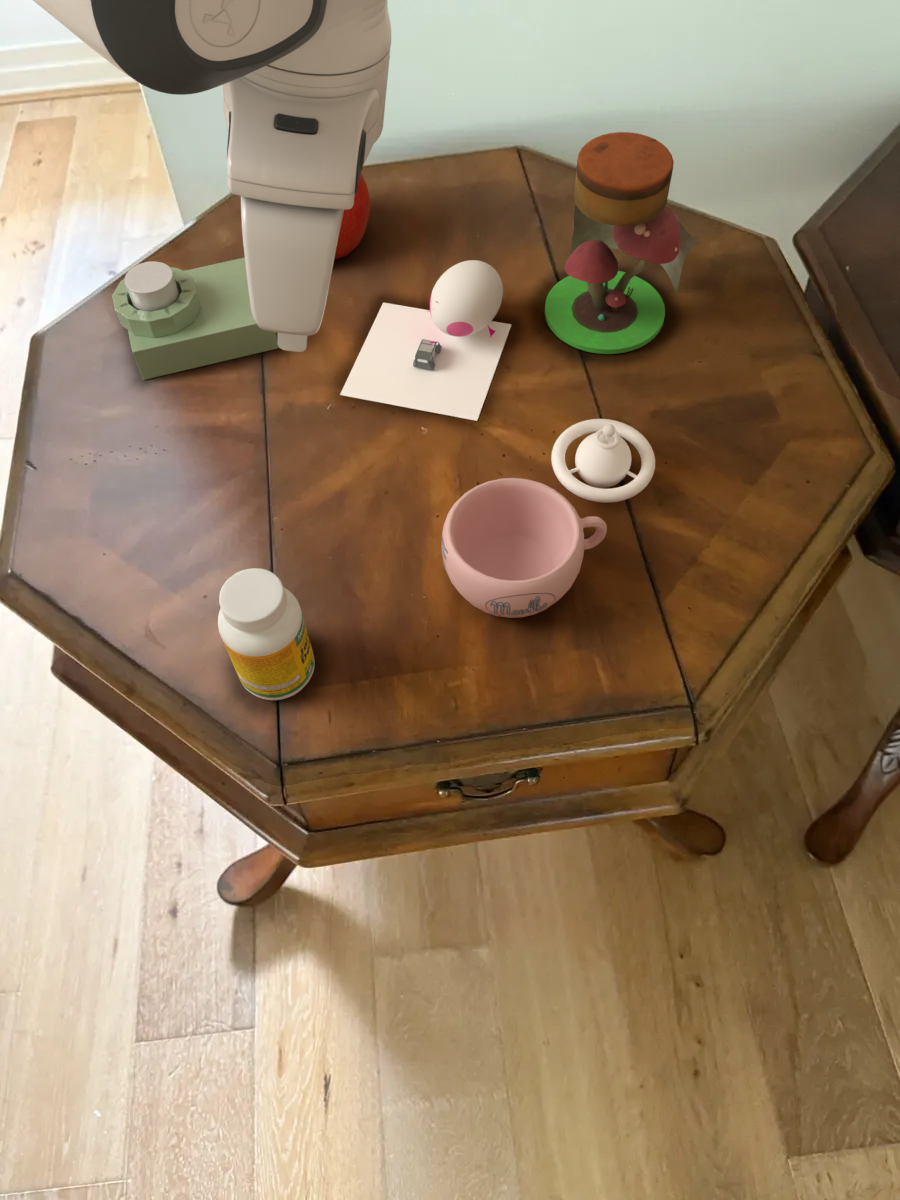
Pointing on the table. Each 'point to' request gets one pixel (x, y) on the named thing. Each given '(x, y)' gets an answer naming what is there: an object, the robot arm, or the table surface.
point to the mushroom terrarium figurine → (618, 246)
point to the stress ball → (466, 298)
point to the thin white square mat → (425, 364)
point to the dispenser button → (151, 286)
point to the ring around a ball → (603, 460)
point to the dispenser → (195, 322)
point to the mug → (515, 546)
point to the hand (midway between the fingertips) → (299, 296)
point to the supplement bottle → (265, 634)
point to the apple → (354, 221)
